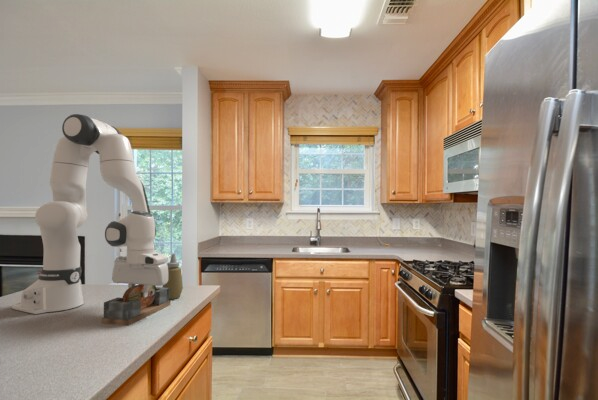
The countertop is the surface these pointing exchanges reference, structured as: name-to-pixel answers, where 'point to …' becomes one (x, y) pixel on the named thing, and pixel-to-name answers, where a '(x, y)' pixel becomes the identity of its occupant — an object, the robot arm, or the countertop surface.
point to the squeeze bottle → (174, 279)
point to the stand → (133, 308)
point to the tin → (136, 294)
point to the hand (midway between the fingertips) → (139, 296)
